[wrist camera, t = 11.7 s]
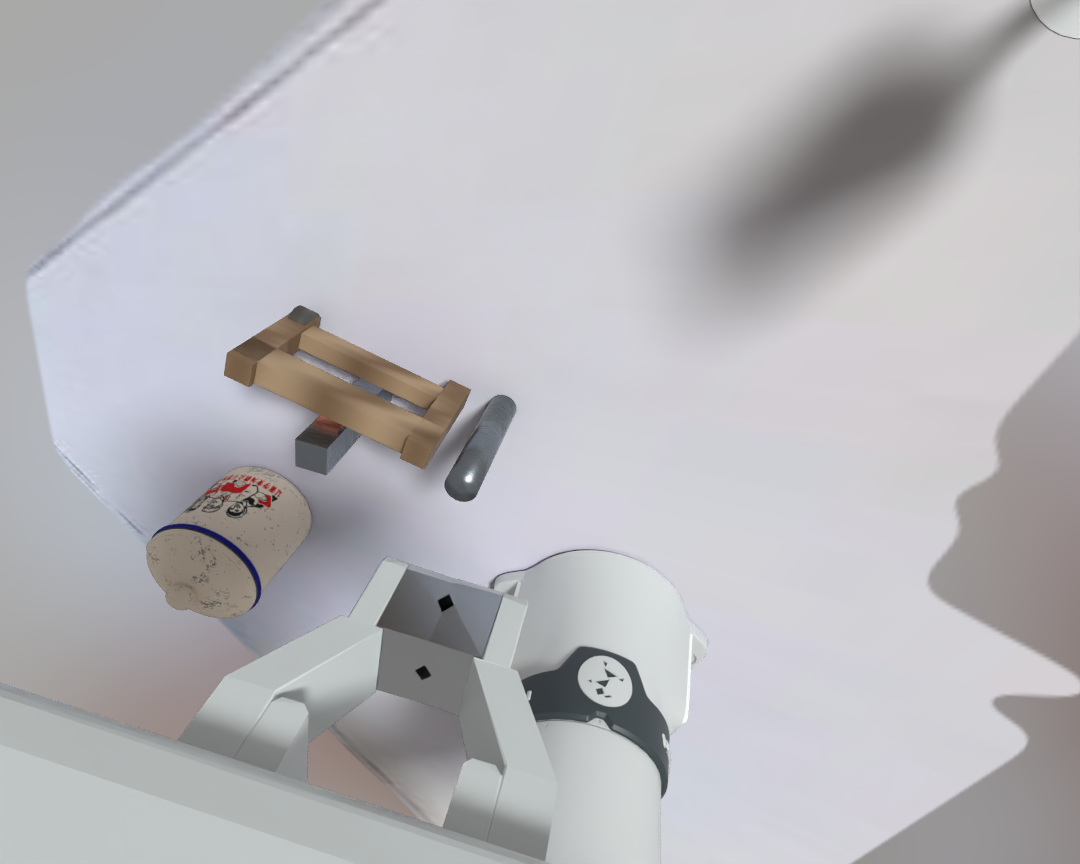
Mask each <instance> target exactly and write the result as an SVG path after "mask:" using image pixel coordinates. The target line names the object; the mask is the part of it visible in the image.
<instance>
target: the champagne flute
mask: <svg viewBox="0 0 1080 864" xmlns="http://www.w3.org/2000/svg"><path fill="white" fill-rule="evenodd" d="M1031 4H1032V7H1033V9H1034V11H1035V13H1036V14H1037V16H1038V18H1039V19H1040V20H1041V21H1042V22H1043V23H1044V24H1045V25H1046V26H1047V27H1048V28H1049V29H1051V30H1053V31H1054V32H1056V33H1058V34H1060V35H1063V36H1067V37H1072V38H1080V0H1031Z"/></svg>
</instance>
